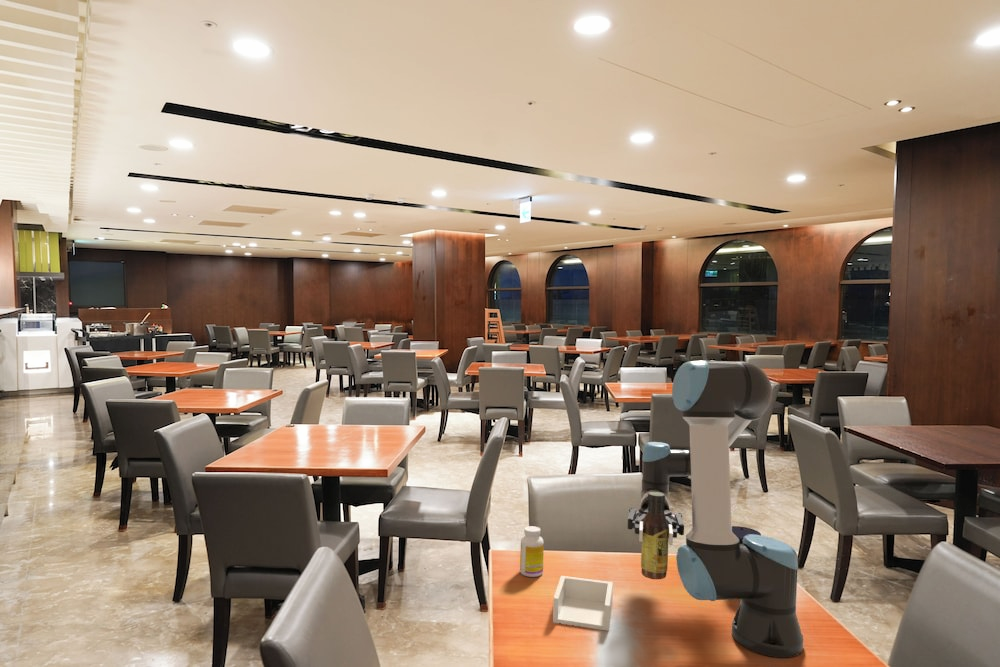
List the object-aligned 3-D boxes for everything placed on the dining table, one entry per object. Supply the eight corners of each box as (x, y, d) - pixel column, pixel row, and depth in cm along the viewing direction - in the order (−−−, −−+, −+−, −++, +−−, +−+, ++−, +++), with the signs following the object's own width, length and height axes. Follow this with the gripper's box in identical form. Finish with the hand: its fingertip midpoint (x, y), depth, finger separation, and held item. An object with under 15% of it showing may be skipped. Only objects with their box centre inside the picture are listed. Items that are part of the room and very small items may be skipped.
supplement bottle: (547, 574, 171) (548, 530, 171) (529, 579, 168) (530, 534, 167) (533, 566, 177) (534, 523, 176) (515, 571, 173) (516, 527, 173)
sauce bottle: (661, 583, 140) (663, 499, 140) (636, 576, 144) (638, 494, 144) (671, 574, 146) (673, 493, 145) (647, 567, 149) (649, 488, 149)
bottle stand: (560, 598, 157) (561, 575, 157) (612, 605, 154) (612, 582, 154) (552, 622, 144) (553, 598, 144) (609, 630, 141) (609, 605, 141)
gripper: (691, 525, 160) (698, 558, 137) (618, 517, 164) (613, 548, 142) (692, 497, 160) (699, 526, 137) (619, 490, 164) (614, 517, 142)
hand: (655, 537), depth 140 cm, fingers closed on sauce bottle, 6 cm apart
